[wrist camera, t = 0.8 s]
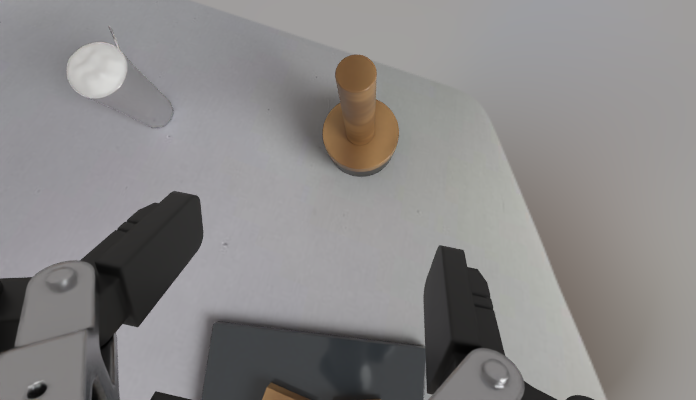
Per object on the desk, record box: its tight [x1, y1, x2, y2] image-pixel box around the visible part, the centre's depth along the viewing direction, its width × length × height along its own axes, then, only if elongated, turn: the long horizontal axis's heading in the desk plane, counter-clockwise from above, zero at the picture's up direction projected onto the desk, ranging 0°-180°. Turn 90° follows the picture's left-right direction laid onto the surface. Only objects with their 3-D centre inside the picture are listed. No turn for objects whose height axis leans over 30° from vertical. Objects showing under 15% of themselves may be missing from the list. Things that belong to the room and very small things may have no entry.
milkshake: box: [67, 25, 174, 128], centre depth 31 cm, size 4×5×10 cm
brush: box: [323, 55, 399, 177], centre depth 27 cm, size 6×6×13 cm
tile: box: [202, 321, 426, 400], centre depth 30 cm, size 18×10×1 cm, turn 84°
